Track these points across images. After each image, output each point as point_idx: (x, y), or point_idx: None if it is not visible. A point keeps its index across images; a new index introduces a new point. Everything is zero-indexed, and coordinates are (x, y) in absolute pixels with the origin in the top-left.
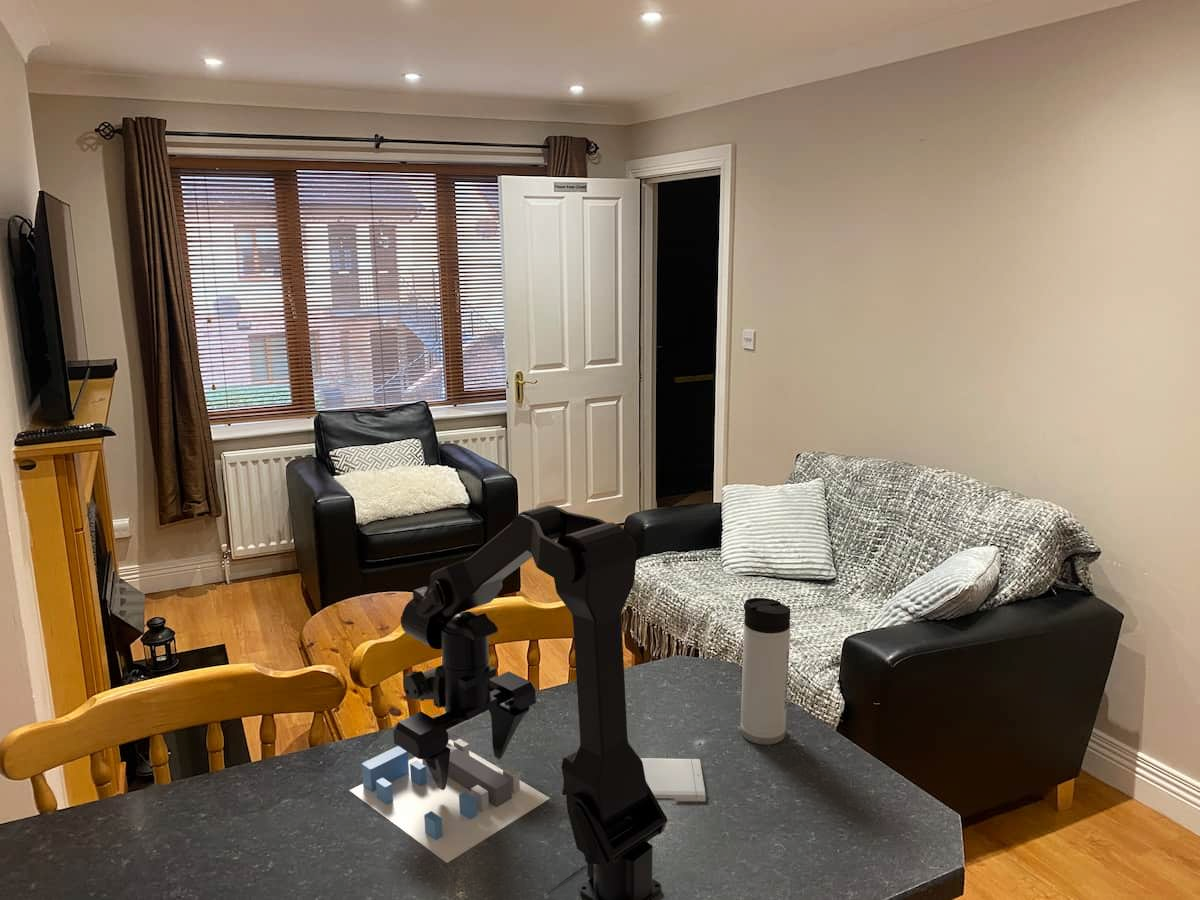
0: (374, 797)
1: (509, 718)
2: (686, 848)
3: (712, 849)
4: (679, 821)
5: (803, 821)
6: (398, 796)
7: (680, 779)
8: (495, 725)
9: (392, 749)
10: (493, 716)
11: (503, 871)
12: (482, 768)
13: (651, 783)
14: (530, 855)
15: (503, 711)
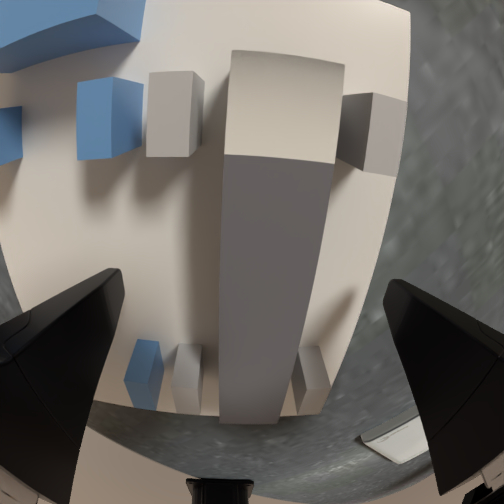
0: (2, 103)
1: (448, 470)
2: (315, 483)
3: (325, 486)
4: (353, 469)
5: (389, 480)
6: (40, 146)
7: (419, 448)
8: (466, 366)
9: None
10: (499, 380)
11: (133, 436)
12: (274, 354)
13: (403, 446)
14: (183, 444)
15: (482, 461)
